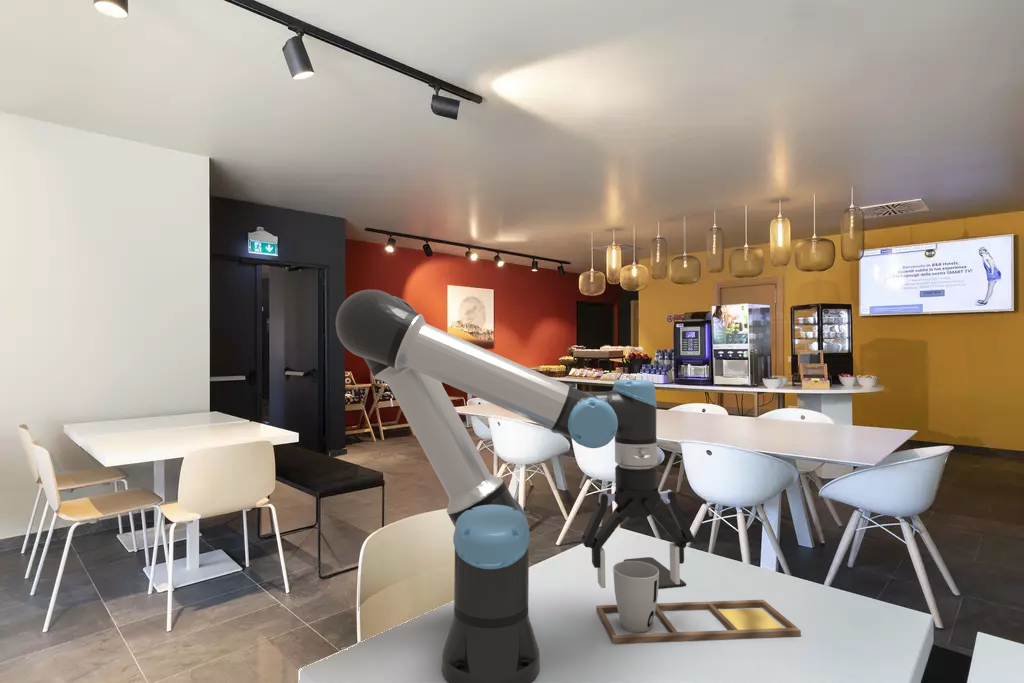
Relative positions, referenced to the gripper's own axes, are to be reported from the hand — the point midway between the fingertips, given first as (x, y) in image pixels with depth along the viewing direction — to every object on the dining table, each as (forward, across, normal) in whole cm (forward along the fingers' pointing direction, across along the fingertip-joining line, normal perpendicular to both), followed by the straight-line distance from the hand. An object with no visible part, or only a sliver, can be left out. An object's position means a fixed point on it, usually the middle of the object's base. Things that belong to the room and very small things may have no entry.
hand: (638, 583), depth 99 cm
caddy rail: (+8, +10, 0) cm, 13 cm away
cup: (+8, -1, 0) cm, 8 cm away
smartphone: (+8, +11, +23) cm, 27 cm away
